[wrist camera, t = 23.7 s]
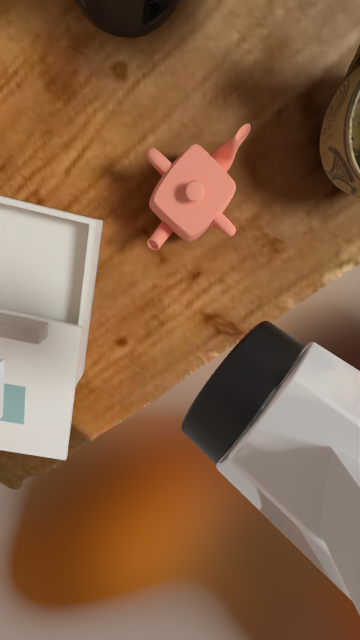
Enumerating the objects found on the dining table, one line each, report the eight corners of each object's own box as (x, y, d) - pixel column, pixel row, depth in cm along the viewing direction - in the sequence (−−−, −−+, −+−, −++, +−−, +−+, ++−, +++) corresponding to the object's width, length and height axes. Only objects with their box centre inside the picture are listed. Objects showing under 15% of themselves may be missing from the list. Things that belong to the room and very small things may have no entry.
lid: (-62, 296, 40) (-86, 302, 37) (82, 325, 42) (74, 335, 39) (-52, 437, 49) (-70, 454, 46) (67, 456, 51) (58, 474, 48)
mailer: (-46, 184, 39) (-69, 179, 35) (103, 220, 41) (95, 219, 37) (-38, 350, 48) (-57, 361, 44) (83, 373, 50) (75, 385, 46)
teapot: (224, 249, 43) (238, 255, 33) (151, 247, 42) (144, 252, 33) (233, 148, 38) (252, 120, 28) (151, 144, 38) (143, 115, 28)
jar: (456, 446, 15) (271, 325, 19) (647, 527, 7) (268, 296, 12) (357, 566, 15) (199, 421, 20) (437, 758, 8) (152, 453, 12)
